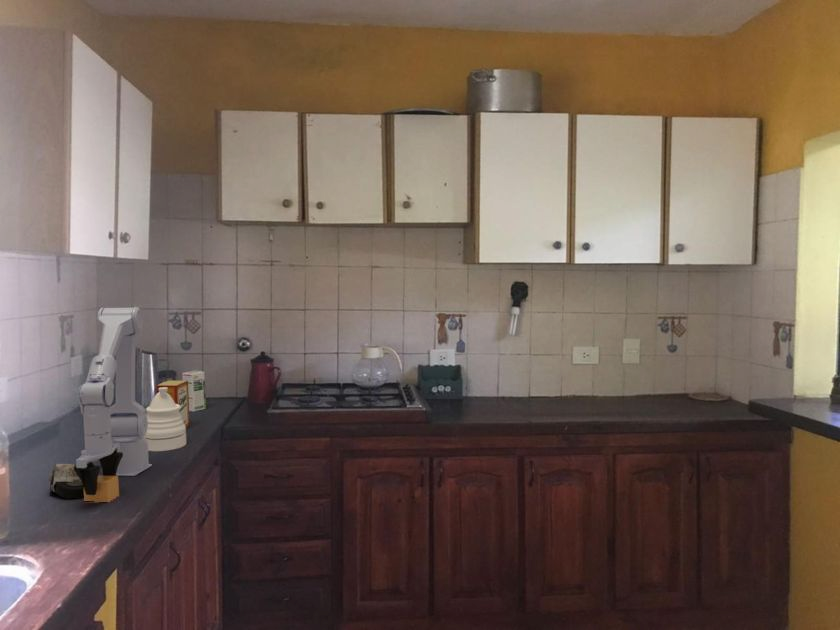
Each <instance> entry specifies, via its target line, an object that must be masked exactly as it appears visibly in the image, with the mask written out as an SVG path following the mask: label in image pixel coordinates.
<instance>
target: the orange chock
mask: <svg viewBox="0 0 840 630" xmlns="http://www.w3.org/2000/svg"><path fill="white" fill-rule="evenodd" d="M117 496H118V497H120V486H119V476H103V475H98V479H97V492H96V494H95V495H86V493H85V490H84V497H83V502H84V501H94V502H93V503H99V502H109V503H110V501H111V500H112V501H114V500H115V499H117V498H118V497H117ZM116 497H117V498H116ZM113 499H114V500H113ZM112 501H111V502H112Z"/></svg>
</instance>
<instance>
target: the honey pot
mask: <svg viewBox="0 0 840 630" xmlns="http://www.w3.org/2000/svg"><path fill="white" fill-rule="evenodd" d="M158 389H159V393H157V392H156V394H155V395H154V397H153V398H152V400H151V401H150V404H149V406H147V407H145V409H146V416H147V421H148V428H147V433H146V435H145V436H144V438H145V439H146V440H147V443H148V452H149V451H150V452H164V451H165V452H166V451H171V450H176V449H181V448H182V447H184V446H186V445H187V430H186V429H187V428H186V427H185V425H184V423H183V420H182V416H181V415H180V413H179V410H180V408H181V406H180V405H178V404H175V402H174V400H173V399H172V397H171V396H170V395H169V394H168V393H167V390H168V388H167V387H161V388H158Z"/></svg>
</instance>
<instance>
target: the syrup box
mask: <svg viewBox="0 0 840 630" xmlns="http://www.w3.org/2000/svg"><path fill="white" fill-rule="evenodd" d="M182 380H188V394H189V412H198V411H202V410H206V409H207V401H206V380H205V371H203V370H192V371H186V372H182Z"/></svg>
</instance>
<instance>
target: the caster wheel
mask: <svg viewBox="0 0 840 630" xmlns="http://www.w3.org/2000/svg"><path fill="white" fill-rule="evenodd" d="M52 464H53V465H52V469H51V472H50V473H49V476H48V482H49V483H50V484H49V494H48V496H49V495H51V490H52V492H54V493H56V494H57V495H58V496H60V497H61V498H65V499H71V498H74V499H79V498H78V497H82V496H84V487H83V484H82V482H81V480H80V478H79V476H78V475H77V473H76V472H75V471H74V466H75V465H76V463H55V461H53V463H52ZM82 498H83V497H82Z"/></svg>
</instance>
